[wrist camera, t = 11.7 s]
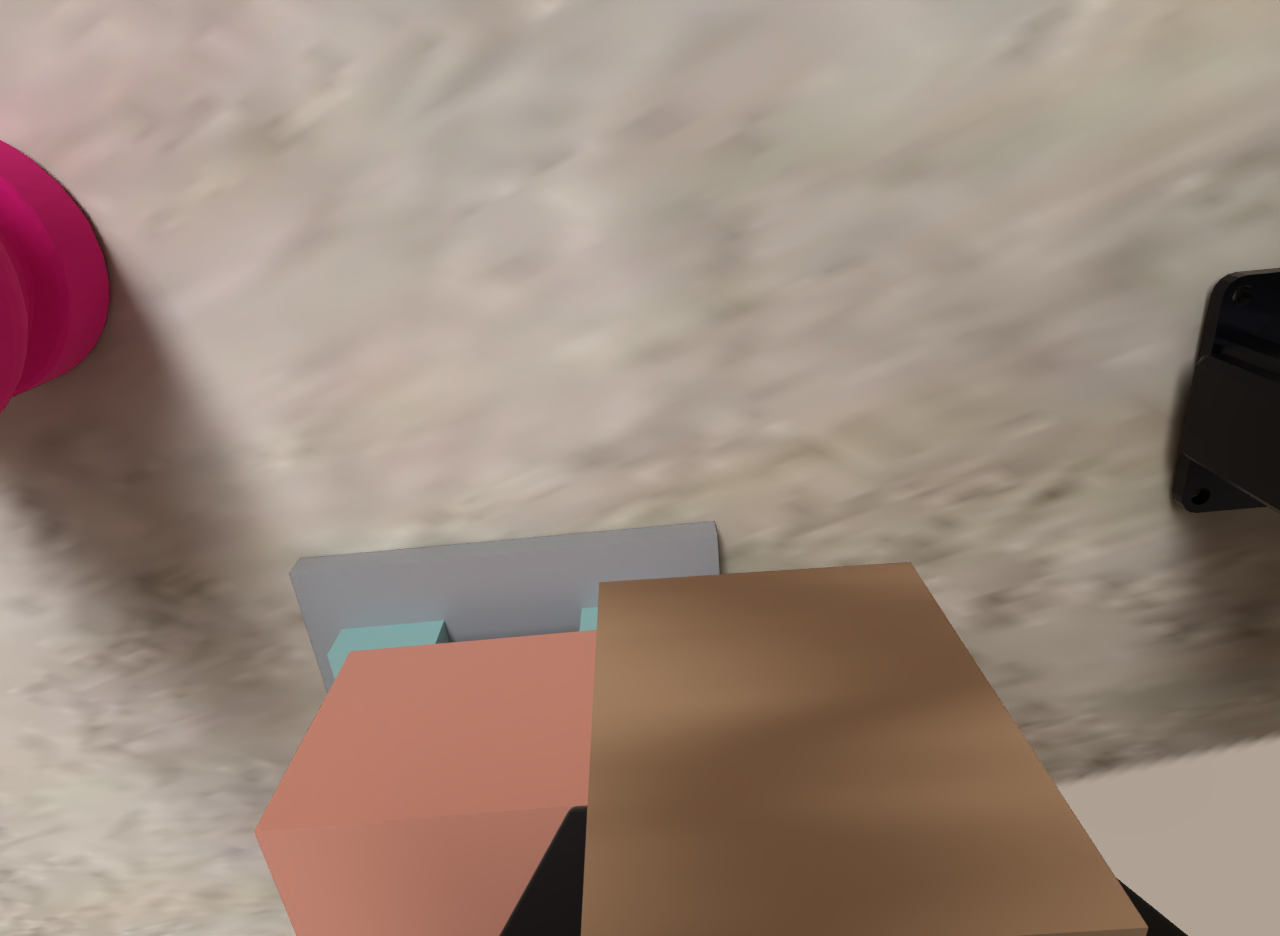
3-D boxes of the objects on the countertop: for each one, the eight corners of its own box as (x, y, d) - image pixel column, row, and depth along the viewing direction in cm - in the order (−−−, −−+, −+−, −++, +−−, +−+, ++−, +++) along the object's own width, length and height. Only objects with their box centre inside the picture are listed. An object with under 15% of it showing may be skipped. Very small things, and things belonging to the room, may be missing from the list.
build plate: (714, 521, 22) (721, 557, 21) (728, 738, 26) (736, 786, 24) (299, 558, 23) (270, 596, 21) (365, 768, 26) (345, 817, 24)
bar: (713, 619, 21) (740, 792, 16) (720, 733, 23) (749, 926, 17) (349, 651, 22) (253, 831, 16) (383, 761, 23) (306, 959, 18)
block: (910, 561, 10) (1147, 928, 6) (889, 795, 12) (1061, 1226, 7) (599, 582, 10) (578, 963, 6) (621, 811, 12) (621, 1253, 7)
